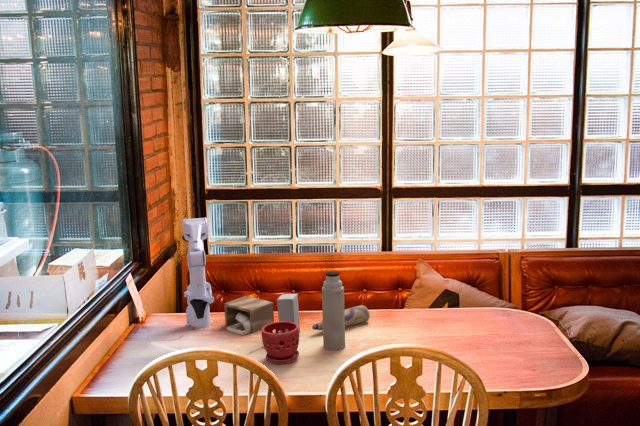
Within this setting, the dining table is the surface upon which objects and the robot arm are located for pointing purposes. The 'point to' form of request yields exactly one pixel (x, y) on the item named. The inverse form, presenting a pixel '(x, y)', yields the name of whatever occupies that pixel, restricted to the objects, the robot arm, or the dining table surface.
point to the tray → (232, 329)
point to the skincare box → (288, 309)
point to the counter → (250, 312)
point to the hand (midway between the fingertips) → (200, 318)
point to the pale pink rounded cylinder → (246, 325)
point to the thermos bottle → (333, 312)
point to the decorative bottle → (350, 317)
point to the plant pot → (281, 342)
